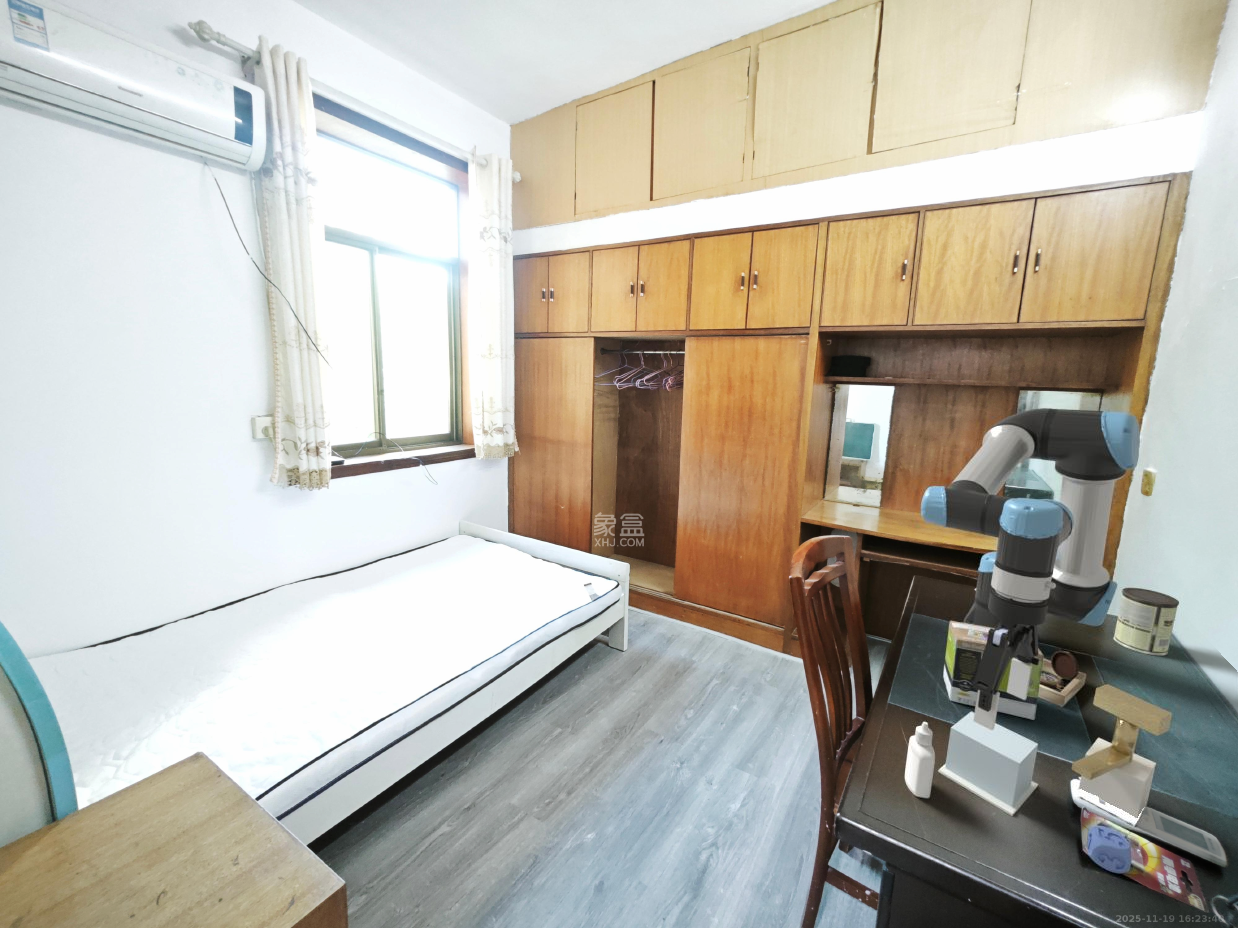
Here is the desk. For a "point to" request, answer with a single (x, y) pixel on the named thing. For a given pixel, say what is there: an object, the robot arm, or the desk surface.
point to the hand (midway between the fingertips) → (1000, 709)
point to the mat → (986, 795)
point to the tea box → (964, 665)
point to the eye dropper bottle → (920, 762)
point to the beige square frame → (1067, 692)
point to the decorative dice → (1109, 849)
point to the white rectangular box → (1122, 782)
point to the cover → (991, 758)
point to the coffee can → (1145, 621)
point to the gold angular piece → (1122, 730)
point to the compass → (1060, 670)
